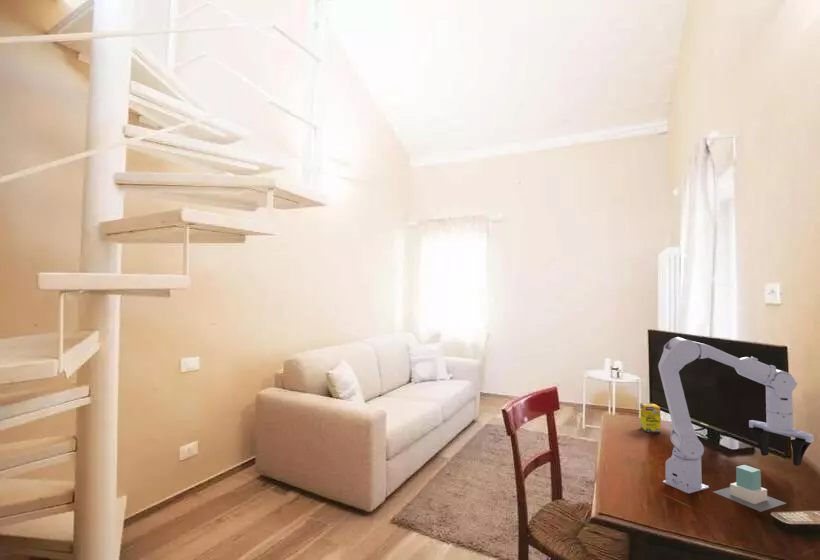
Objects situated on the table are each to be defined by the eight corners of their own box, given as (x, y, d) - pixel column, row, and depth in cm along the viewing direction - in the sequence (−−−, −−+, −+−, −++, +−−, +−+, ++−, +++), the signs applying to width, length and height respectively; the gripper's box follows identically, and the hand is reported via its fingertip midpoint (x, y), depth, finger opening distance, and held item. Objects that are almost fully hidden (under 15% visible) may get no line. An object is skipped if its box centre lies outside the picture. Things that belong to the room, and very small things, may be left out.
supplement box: (645, 432, 174) (645, 406, 174) (640, 428, 180) (639, 402, 180) (661, 433, 173) (660, 407, 173) (655, 429, 179) (654, 403, 179)
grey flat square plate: (760, 512, 109) (760, 511, 109) (712, 492, 120) (712, 491, 120) (786, 504, 114) (786, 503, 114) (737, 485, 125) (737, 484, 125)
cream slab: (754, 504, 113) (754, 493, 113) (730, 494, 119) (730, 483, 119) (767, 500, 115) (767, 489, 116) (743, 490, 121) (742, 480, 121)
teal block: (752, 490, 115) (751, 472, 115) (736, 484, 118) (735, 466, 118) (761, 488, 116) (760, 470, 116) (744, 482, 120) (744, 464, 120)
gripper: (819, 417, 114) (821, 467, 113) (758, 404, 127) (759, 449, 127) (805, 419, 111) (806, 471, 111) (744, 406, 125) (745, 452, 124)
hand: (780, 459), depth 119 cm, fingers open, 7 cm apart
